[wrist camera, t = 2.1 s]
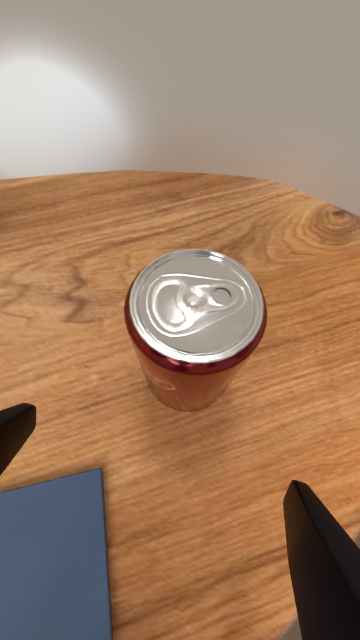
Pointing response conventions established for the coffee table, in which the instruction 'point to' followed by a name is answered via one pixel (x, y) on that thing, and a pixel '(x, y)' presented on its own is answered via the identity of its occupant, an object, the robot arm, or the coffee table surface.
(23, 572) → the slate-blue mat
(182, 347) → the soda can
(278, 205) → the coffee table surface
